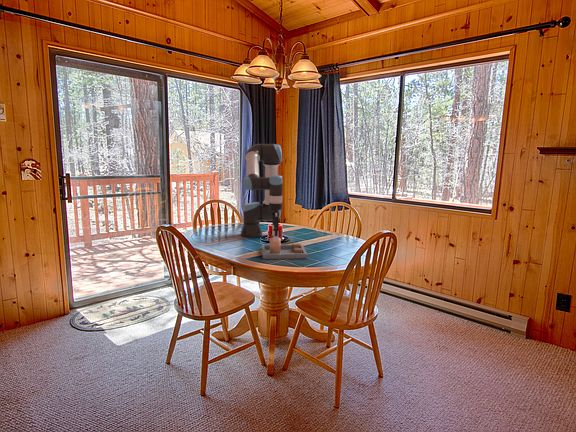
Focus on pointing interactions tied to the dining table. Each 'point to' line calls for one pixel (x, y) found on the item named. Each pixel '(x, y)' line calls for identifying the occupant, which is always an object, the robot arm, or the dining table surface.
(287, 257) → the tray
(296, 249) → the cube
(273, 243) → the tan u-shaped piece
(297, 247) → the cube
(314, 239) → the dining table surface
